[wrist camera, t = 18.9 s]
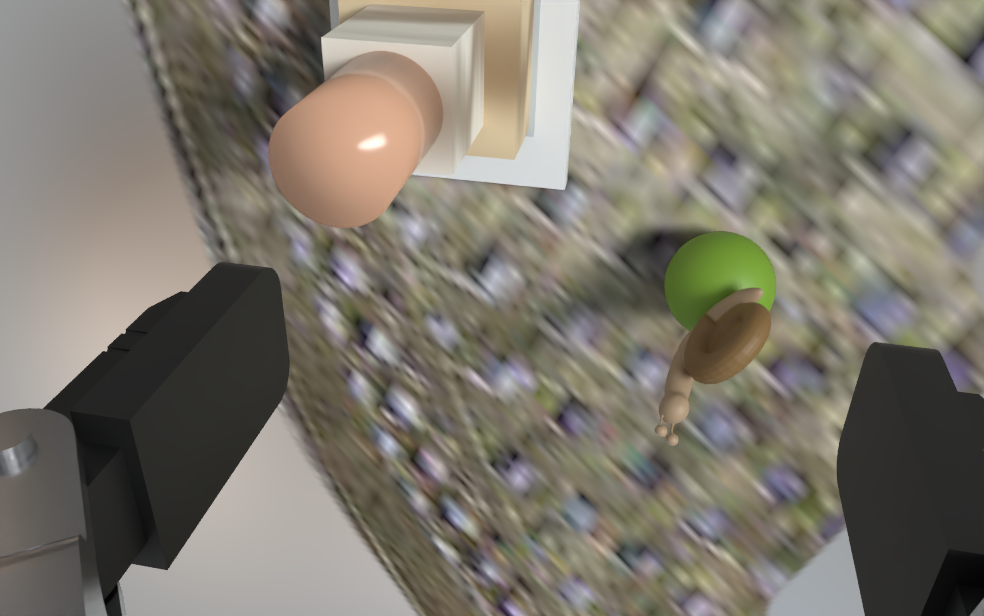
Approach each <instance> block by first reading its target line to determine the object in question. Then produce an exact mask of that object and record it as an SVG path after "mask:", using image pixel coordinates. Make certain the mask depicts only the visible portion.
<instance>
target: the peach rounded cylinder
mask: <svg viewBox="0 0 984 616" xmlns="http://www.w3.org/2000/svg"><path fill="white" fill-rule="evenodd" d="M442 122H443V105H442V100H441V97H440V94H439V91H438V89H437V87H436V85H435V83H434V82H433V80H432V78H431V77H430V76H429V75H428V73H427V72H426V71H425V70H424V69H423V68H422V67H421V66H420V65H418V64H417V63H416V62H414V61H413V60H411V59H409V58H408V57H406V56H403V55H401V54H398V53H394V52H389V51H372V52H368V53H364V54H362V55H360V56H357V57H356V58H354V59H353V60H351V61H350V62H349V63H347V64H346V65H345V66H344V67H342V68H341V69H340V70H339V71H337V72H336V73H335V74H334V75H332V76H331V77H330V78H329V79H327V80H326V81H325V82H324V83H322V84H321V85H320V86H319V87H317V88H316V89H315V90H314V91H312V92H311V93H310V94H309V95H307V96H306V97H305V98H303V99H302V100H301V101H300V102H298V103H297V104H296V105H295V106H293V107H292V108H291V109H290V110H288V111H287V112H286V113H285V114H284V115H283V116H282V117H281V118H280V119H279V121H278V122H277V124H276V125H275V127H274V129H273V132H272V134H271V137H270V142H269V151H268V154H269V164H270V169H271V172H272V175H273V178H274V180H275V182H276V185H277V186H278V188H279V190H280V191H281V193H282V194H283V196H284V197H285V198H286V199H287V201H288V202H289V203H290V204H291V205H292V206H293V207H294V208H296V209H297V210H298V211H299V212H300V213H302V214H303V215H305V216H306V217H308V218H310V219H312V220H313V221H316V222H318V223H320V224H324V225H327V226H331V227H337V228H352V227H357V226H362V225H364V224H367V223H369V222H371V221H373V220H375V219H376V218H377V217H379V216H380V215H381V214H382V213H383V212H384V211H385V210H386V209H387V207H388V206H389V205H390V203H391V202H392V201H393V199H394V198H395V196H396V195H397V194H398V192H399V191H400V190H401V188H402V187H403V185H404V184H405V183H406V181H407V180H408V179H409V177H410V176H411V174H412V173H413V172H414V170H415V169H416V168H417V166H418V165H419V163H420V162H421V161H422V159H423V158H424V157H425V155H426V154H427V152H428V151H429V150H430V148H431V147H432V146H433V144H434V143H435V141H436V140H437V138H438V136H439V134H440V131H441V128H442Z"/></svg>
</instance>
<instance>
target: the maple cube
mask: <svg viewBox="0 0 984 616" xmlns="http://www.w3.org/2000/svg"><path fill="white" fill-rule="evenodd" d="M321 43H322V55H323V67H324V80H325V81H326V80H327V79H329V78H330V77H331V76H332V75H334V74H335V73H336V72H337V71H339V70H340V69H341V68H342V67H344V66H345V65H346V64H347V63H349V62H350V61H351V60H353V59H354V58H356V57H357V56H360V55H362V54H364V53H368V52H372V51H389V52H394V53H398V54H401V55H403V56H406V57H408V58H409V59H411V60H413V61H414V62H416V63H417V64H418V65H420V66H421V67H422V68H423V69H424V70H425V71H426V72H427V73H428V75H429V76H430V77H431V78H432V80H433V82H434V83H435V85H436V87H437V89H438V91H439V94H440V97H441V100H442V105H443V122H442V128H441V131H440V134H439V136H438V138H437V140H436V141H435V143H434V144H433V146H432V147H431V148H430V150H429V151H428V152H427V154H426V155H425V157H424V158H423V159H422V161H421V162H420V163H419V165H418V166H417V168H416V169H415V170H414V172H421V173H432V174H442V175H453V174H454V172H455V170H456V169H457V167H458V165H459V164H460V162H461V161H462V159H463V157H464V156H465V154H466V153H467V151H468V149H469V148H470V146H471V144H472V143H473V141H474V140H475V138H476V136H477V135H478V133H479V132H480V130H481V128H482V127H483V116H484V47H485V11H476V10H461V9H445V8H430V7H414V6H399V5H384V4H370V5H369V6H367V7H366V8H364V9H363V10H361V11H360V12H358V13H357V14H355V15H354V16H352V17H351V18H349V19H348V20H346V21H345V22H343V23H342V24H340V25H339V26H338V27H336V28H335V29H333V30H332V31H330V32H329V33H327V34H326V35H324V36H323V37H321Z"/></svg>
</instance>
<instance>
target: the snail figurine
mask: <svg viewBox="0 0 984 616" xmlns="http://www.w3.org/2000/svg"><path fill="white" fill-rule="evenodd" d="M664 291H665V297H666V301H667V304H668V306H669V309H670V311H671V312H672V314H673V316H674V317H675V318H676V320H677V321H678V322H679V323H680V324H681V325H682V326H683V327H685V328H686V329H687V330H689V331H690V332H689V333H688V334H687V335H686V336H685V337H684V339H683V340H682V342H681V344H680V346H679V348H678V350H677V352H676V354H675V356H674V359H673V361H672V364H671V366H670V369H669V372H668V376H667V379H666V385H665V394H664V397H663V399H662V401H661V403H660V405H659V414H660V417H661V419H660V425H658V426H656V428H655V433H656V434H657V435H658V436H659V437H664V436H665V435H666V434H667V428H666V427H665V426H664V425H661V424H662V420H663V421H665V422H667V423H670V424H672V426H671V434H668V435H667V437H666V441H667V443H668V444H669V445H671V446H675V445H676V444H677V443H678V437H677V435H675V434H673V427H674V424H676V423H679V422H681V421H683V420H684V419H685V418H686V416H687V415H688V412H689V402H688V397H689V394H690V391H691V388H692V385H693V381H694V380H696V381H698V382H700V383H704V384H715V383H719V382H722V381H725V380H727V379H729V378H731V377H733V376H734V375H736V374H737V373H739V372H740V371H741V370H742V369H744V368H745V367H746V366H747V365H748V364H749V363H750V362H751V361H752V360H753V359H754V358H755V357H756V355H757V354H758V353H759V352H760V350H761V349H762V347H763V346H764V344H765V342H766V340H767V338H768V335H769V332H770V328H771V316H770V314H769V311H770V309H771V306H772V304H773V301H774V298H775V293H776V278H775V273H774V269H773V266H772V264H771V262H770V260H769V258H768V257H767V255H766V254H765V252H764V251H763V250H762V249H761V248H760V247H759V246H758V245H757V244H756V243H754V242H753V241H751V240H750V239H748V238H746V237H744V236H742V235H739V234H736V233H732V232H723V231H718V232H710V233H705V234H702V235H699V236H697V237H695V238H693V239H691V240H690V241H688V242H687V243H685V244H684V245H683V246H682V247H681V248H680V249H679V250H678V251H677V252H676V253H675V255H674V256H673V258H672V259H671V261H670V263H669V265H668V268H667V271H666V275H665V281H664Z"/></svg>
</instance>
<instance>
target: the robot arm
mask: <svg viewBox="0 0 984 616" xmlns="http://www.w3.org/2000/svg"><path fill="white" fill-rule="evenodd" d="M289 365H290V361H289V351H288V343H287V335H286V327H285V319H284V310H283V302H282V294H281V286H280V281H279V277H278V275H277V273H276V271H275V270H274V269H272V268H268V267H259V266H251V265H243V264H234V263H226V262H220V263H218V264H216V265H215V266H214V267H213V268H212V269H211V270H210V271H209V272H208V273H207V274H206V275H205V276H204V277H203V278H202V279H201V280H200V281H199V282H198V283H197V284H196V285H195V286H194V287H193V288H192V289H191V290H190V291H189V292H182V291H181V292H179V293H177V294H175V295H173V296H171V297H169V298H167V299H165V300H163V301H161V302H159V303H157V304H155V305H153V306H151V307H149V308H148V309H147V310H146V311H145V312H143V313H142V314H141V315H140V316H139V317H138V318H137V319H136V320H135V321H134V322H133V323H132V324H131V325H130V326H129V327H128V328H127V329H126V333H125V334H121V335H119V337H117V338H116V339H115V340H114V341H113V342H112V343H111V344H110V345H109V346H108V350H107V352H105V351H103V352H102V353H101V354H100V355H98V356H97V357H96V358H95V359H94V360H93V361H92V362H91V363H90V364H89V365H88V366H87V367H86V368H85V369H84V370H83V371H82V372H81V373H80V374H79V375H78V376H77V377H76V378H74V379H73V380H72V381H71V382H70V383H69V384H68V385H67V386H66V387H65V388H64V389H63V390H62V391H61V392H60V393H59V394H58V395H57V396H56V397H55V398H53V399H52V400H51V401H50V402H49V403H48V404H47V405H46V406H45V407H44V408H43V409H30V408H29V409H18V410H12V411H7V412H3V413H0V616H126V611H125V604H124V598H123V594H122V590H121V587H120V583H119V580H120V579H121V577H122V576H123V575H124V573H125V572H126V571H127V569H128V568H129V566H130V565H131V564H136V565H142V566H148V567H153V568H158V569H164V570H168V568H169V567H170V565H171V564H172V562H173V561H174V559H175V558H176V556H177V555H178V553H179V552H180V550H181V549H182V547H183V546H184V544H185V543H186V541H187V540H188V539H189V537H190V536H191V534H192V532H193V531H194V530H195V528H196V527H197V525H198V524H199V522H200V521H201V519H202V518H203V516H204V515H205V513H206V512H207V510H208V509H209V507H210V506H211V504H212V503H213V501H214V500H215V498H216V497H217V495H218V494H219V492H220V491H221V489H222V488H223V486H224V485H225V483H226V482H227V480H228V479H229V477H230V476H231V474H232V473H233V472H234V470H235V468H236V467H237V466H238V464H239V462H240V461H241V460H242V458H243V457H244V455H245V454H246V452H247V451H248V449H249V447H250V446H251V445H252V443H253V442H254V440H255V439H256V437H257V436H258V434H259V433H260V431H261V430H262V428H263V427H264V425H265V424H266V422H267V421H268V419H269V418H270V416H271V415H272V413H273V412H274V410H275V409H276V407H277V406H278V404H279V403H280V401H281V400H282V397H283V395H284V392H285V390H286V386H287V382H288V377H289ZM837 483H838V488H839V493H840V498H841V503H842V508H843V512H844V517H845V522H846V527H847V531H848V536H849V541H850V545H851V551H852V555H853V560H854V565H855V569H856V574H857V579H858V584H859V589H860V594H861V598H862V603H863V608H864V613H865V616H984V398H982V397H981V396H980V395H979V394H972V393H964V392H957V389H956V387H955V385H954V382H953V380H952V378H951V376H950V373H949V371H948V369H947V367H946V364H945V362H944V360H943V357H942V355H941V354H940V352H939V351H938V350H936V349H928V348H920V347H912V346H903V345H895V344H887V343H878V342H874V343H872V344H871V345H870V347H869V348H868V350H867V352H866V355H865V358H864V361H863V364H862V367H861V371H860V374H859V377H858V381H857V384H856V387H855V391H854V394H853V397H852V401H851V404H850V407H849V411H848V414H847V417H846V421H845V424H844V427H843V431H842V434H841V438H840V442H839V448H838V455H837Z"/></svg>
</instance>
